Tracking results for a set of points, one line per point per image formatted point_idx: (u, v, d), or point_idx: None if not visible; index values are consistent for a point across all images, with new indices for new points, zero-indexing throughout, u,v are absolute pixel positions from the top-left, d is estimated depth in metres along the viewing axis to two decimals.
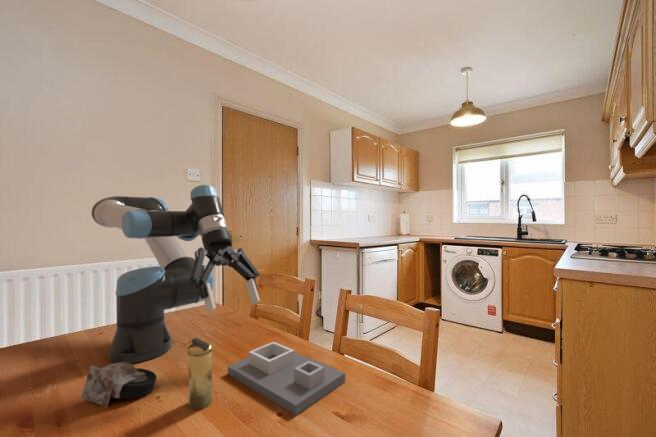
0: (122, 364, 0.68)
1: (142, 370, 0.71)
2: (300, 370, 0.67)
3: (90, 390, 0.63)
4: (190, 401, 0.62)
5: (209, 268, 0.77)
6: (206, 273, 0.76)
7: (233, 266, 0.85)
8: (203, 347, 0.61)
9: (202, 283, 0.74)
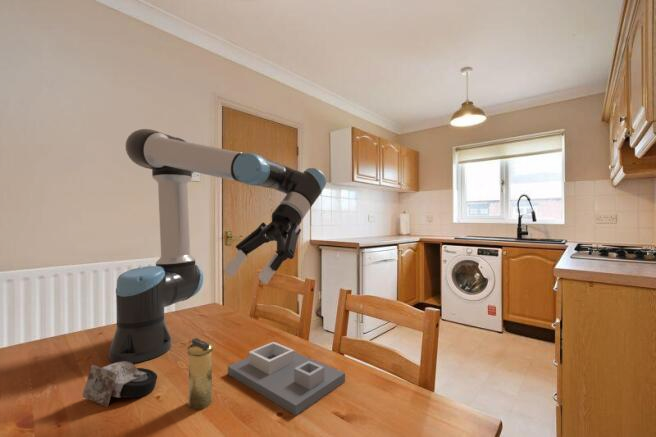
0: (123, 363, 0.68)
1: (143, 370, 0.71)
2: (300, 370, 0.67)
3: (91, 389, 0.63)
4: (190, 401, 0.62)
5: None
6: None
7: (260, 238, 0.79)
8: (203, 347, 0.61)
9: (283, 260, 0.70)
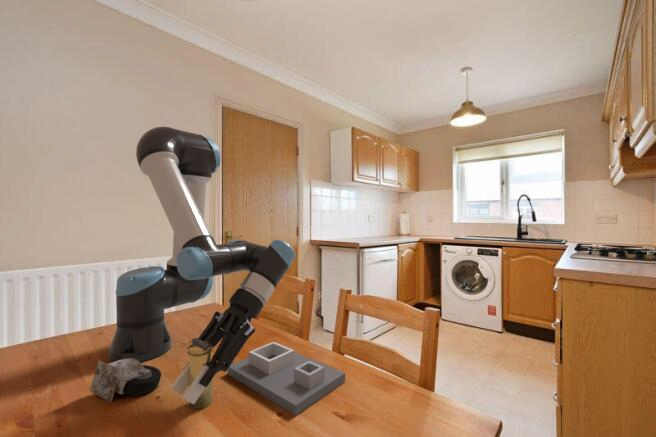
0: (129, 360, 0.69)
1: (149, 367, 0.72)
2: (300, 370, 0.67)
3: (97, 384, 0.65)
4: None
5: None
6: None
7: (218, 333, 0.68)
8: (203, 347, 0.61)
9: None
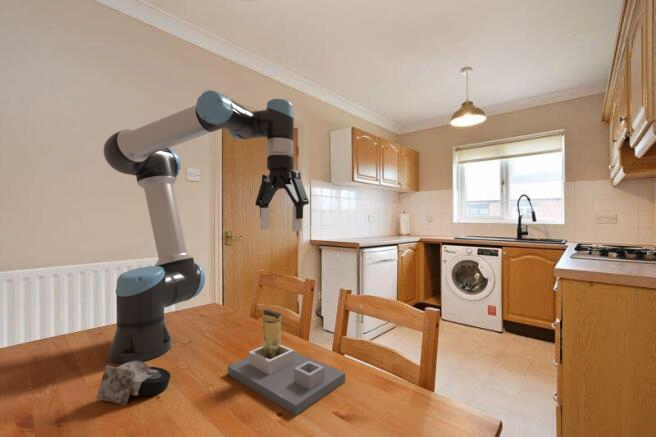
0: (136, 363, 0.68)
1: (154, 368, 0.71)
2: (300, 370, 0.67)
3: (106, 390, 0.63)
4: None
5: None
6: None
7: (271, 191, 0.89)
8: (276, 315, 0.75)
9: (302, 206, 0.83)
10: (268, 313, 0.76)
